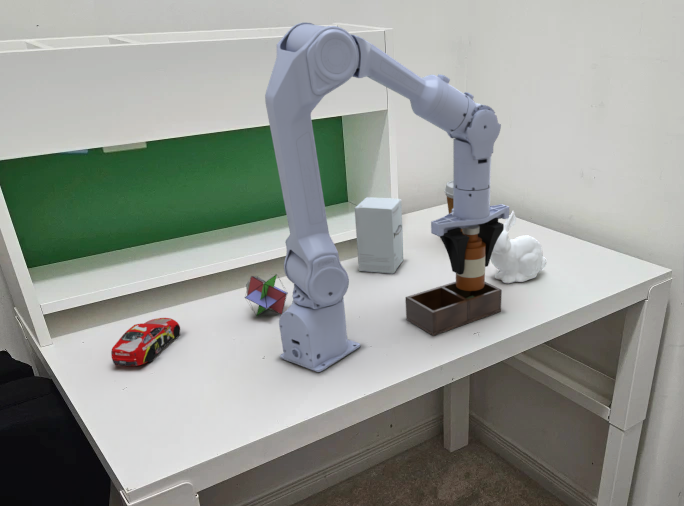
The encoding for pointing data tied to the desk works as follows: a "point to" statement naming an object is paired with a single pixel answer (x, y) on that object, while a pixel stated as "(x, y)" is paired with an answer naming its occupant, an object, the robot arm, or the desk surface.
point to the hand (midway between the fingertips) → (470, 268)
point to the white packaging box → (379, 234)
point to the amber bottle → (473, 262)
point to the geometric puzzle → (265, 294)
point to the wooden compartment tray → (451, 307)
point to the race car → (144, 341)
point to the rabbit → (517, 256)
